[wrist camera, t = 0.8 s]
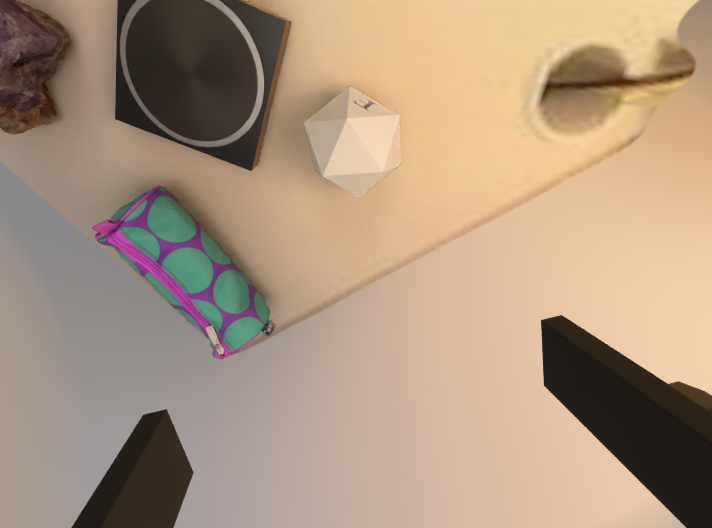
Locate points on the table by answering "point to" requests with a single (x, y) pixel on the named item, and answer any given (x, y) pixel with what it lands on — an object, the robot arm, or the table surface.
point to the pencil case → (188, 270)
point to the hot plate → (200, 73)
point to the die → (354, 141)
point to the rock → (27, 65)
